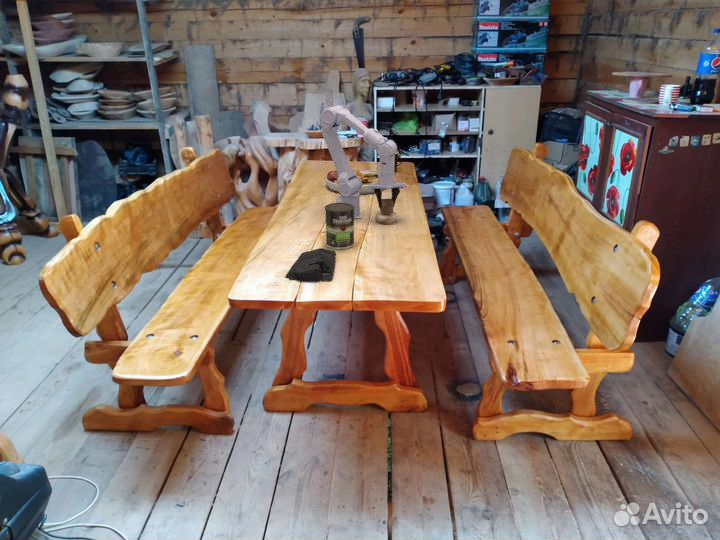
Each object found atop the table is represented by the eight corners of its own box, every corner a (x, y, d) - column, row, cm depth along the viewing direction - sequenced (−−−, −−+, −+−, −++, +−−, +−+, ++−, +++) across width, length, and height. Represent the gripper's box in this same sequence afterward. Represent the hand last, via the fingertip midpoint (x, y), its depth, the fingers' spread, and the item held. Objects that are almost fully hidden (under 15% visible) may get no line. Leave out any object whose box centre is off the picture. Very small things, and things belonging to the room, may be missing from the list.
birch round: (377, 225, 217) (377, 217, 215) (374, 219, 224) (375, 210, 223) (397, 225, 217) (398, 216, 216) (394, 218, 225) (394, 210, 223)
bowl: (387, 179, 280) (387, 163, 277) (388, 196, 253) (389, 179, 250) (328, 179, 281) (327, 163, 278) (323, 196, 254) (323, 179, 250)
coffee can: (357, 247, 196) (357, 209, 190) (329, 250, 193) (328, 212, 187) (350, 237, 205) (350, 201, 199) (323, 240, 202) (322, 203, 196)
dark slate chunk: (343, 256, 189) (342, 244, 187) (331, 284, 170) (330, 270, 168) (299, 254, 191) (299, 241, 189) (282, 281, 172) (281, 268, 170)
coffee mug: (379, 170, 296) (380, 151, 292) (394, 168, 299) (395, 150, 294) (387, 175, 286) (387, 156, 282) (402, 174, 288) (403, 154, 284)
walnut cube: (382, 213, 216) (382, 202, 214) (379, 209, 220) (380, 198, 218) (393, 212, 217) (393, 201, 215) (390, 209, 221) (391, 198, 219)
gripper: (370, 176, 208) (370, 210, 213) (407, 174, 210) (406, 208, 215) (367, 171, 214) (367, 205, 220) (403, 170, 216) (402, 203, 222)
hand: (386, 206), depth 218 cm, fingers closed on walnut cube, 4 cm apart
